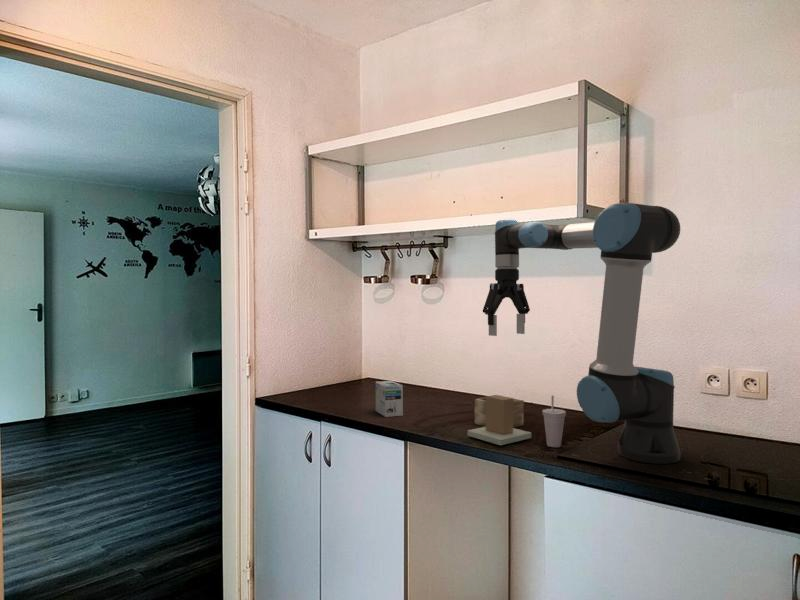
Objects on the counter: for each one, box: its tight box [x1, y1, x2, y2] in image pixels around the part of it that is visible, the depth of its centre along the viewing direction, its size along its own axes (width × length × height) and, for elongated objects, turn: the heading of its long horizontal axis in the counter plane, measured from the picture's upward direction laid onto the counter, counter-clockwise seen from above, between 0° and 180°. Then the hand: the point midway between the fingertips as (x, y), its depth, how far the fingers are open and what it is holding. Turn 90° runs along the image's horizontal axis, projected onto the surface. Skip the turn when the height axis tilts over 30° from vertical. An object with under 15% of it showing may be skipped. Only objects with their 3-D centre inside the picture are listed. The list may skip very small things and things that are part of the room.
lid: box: [467, 394, 532, 446], centre depth 165 cm, size 13×13×12 cm
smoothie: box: [541, 395, 567, 448], centre depth 158 cm, size 6×6×14 cm
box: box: [474, 394, 525, 428], centre depth 182 cm, size 11×11×8 cm
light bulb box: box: [375, 380, 404, 418], centre depth 197 cm, size 11×7×11 cm, turn 22°
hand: (506, 334), depth 181 cm, fingers open, 13 cm apart
